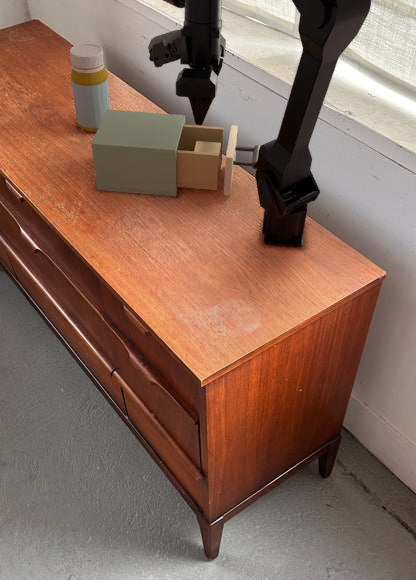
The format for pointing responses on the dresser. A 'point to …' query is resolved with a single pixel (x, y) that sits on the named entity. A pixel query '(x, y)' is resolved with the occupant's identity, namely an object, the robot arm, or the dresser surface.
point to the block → (209, 149)
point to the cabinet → (137, 152)
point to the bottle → (89, 86)
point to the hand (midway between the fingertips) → (201, 115)
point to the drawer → (208, 158)
